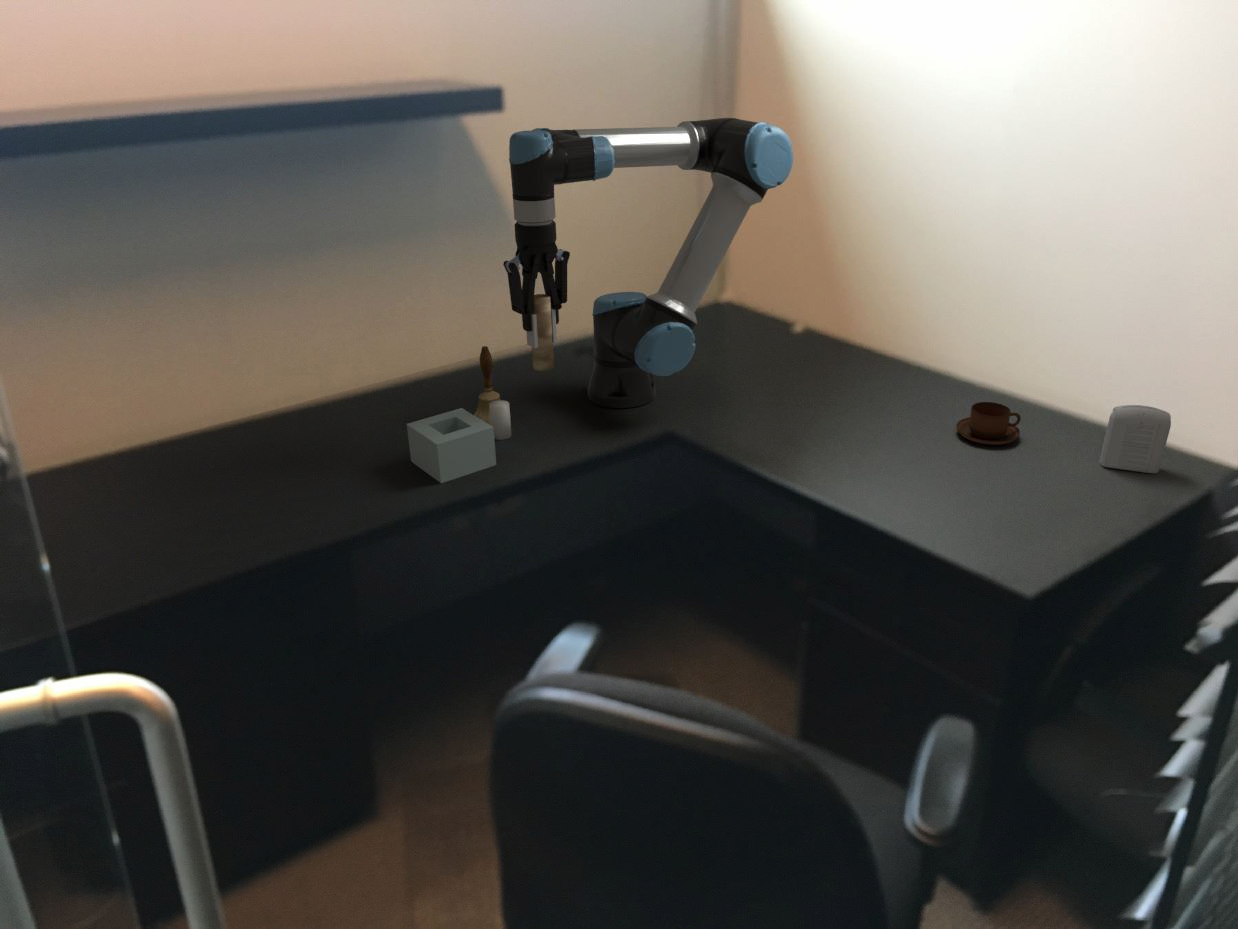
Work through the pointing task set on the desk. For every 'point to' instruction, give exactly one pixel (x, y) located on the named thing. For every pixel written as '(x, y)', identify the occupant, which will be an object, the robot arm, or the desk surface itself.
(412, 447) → the hole block
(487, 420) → the hand bell
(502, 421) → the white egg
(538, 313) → the long pin
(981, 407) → the cup and saucer
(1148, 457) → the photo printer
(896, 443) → the desk surface
